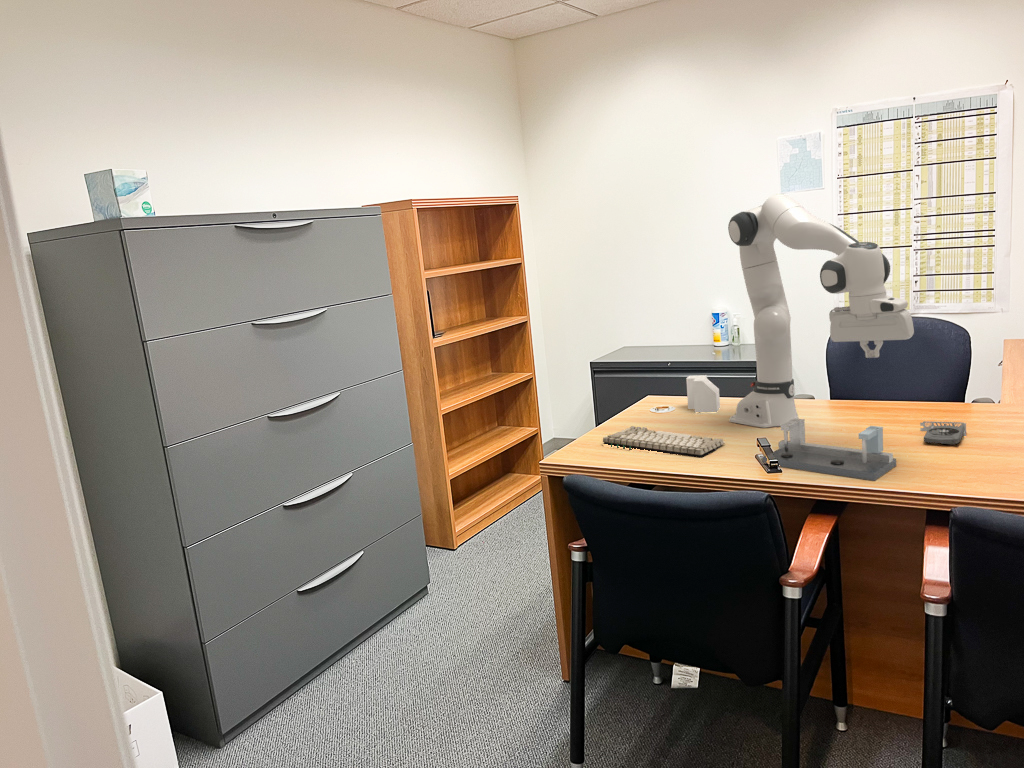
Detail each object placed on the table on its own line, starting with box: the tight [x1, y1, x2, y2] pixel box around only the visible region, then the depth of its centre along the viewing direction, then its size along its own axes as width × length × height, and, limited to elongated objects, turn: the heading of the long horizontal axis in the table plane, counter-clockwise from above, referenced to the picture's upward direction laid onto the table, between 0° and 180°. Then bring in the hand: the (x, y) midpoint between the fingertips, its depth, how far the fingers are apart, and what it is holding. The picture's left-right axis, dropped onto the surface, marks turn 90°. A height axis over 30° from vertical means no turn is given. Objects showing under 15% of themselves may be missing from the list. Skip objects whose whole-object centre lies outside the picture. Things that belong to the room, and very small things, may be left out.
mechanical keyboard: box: [602, 425, 726, 459], centre depth 237 cm, size 38×19×3 cm, turn 47°
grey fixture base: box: [762, 418, 897, 482], centre depth 200 cm, size 30×14×11 cm, turn 43°
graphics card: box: [919, 420, 967, 447], centre depth 214 cm, size 17×4×12 cm
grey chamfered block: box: [685, 374, 721, 413], centre depth 277 cm, size 11×11×12 cm
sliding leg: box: [858, 425, 884, 463], centre depth 192 cm, size 3×8×8 cm, turn 133°
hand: (872, 357), depth 196 cm, fingers closed
